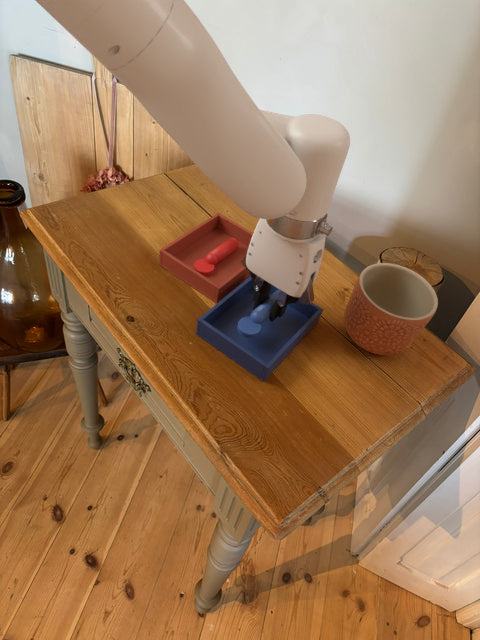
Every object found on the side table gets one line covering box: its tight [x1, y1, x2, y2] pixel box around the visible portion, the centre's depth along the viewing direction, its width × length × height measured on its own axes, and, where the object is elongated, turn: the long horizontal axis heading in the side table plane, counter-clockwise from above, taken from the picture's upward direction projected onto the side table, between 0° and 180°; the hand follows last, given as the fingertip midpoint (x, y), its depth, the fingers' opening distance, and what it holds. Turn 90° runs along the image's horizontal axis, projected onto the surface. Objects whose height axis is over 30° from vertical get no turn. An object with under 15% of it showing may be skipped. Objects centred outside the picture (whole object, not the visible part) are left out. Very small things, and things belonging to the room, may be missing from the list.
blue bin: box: [195, 276, 324, 382], centre depth 74 cm, size 13×16×4 cm
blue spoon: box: [237, 290, 280, 338], centre depth 72 cm, size 11×4×2 cm, turn 143°
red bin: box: [158, 212, 254, 304], centre depth 83 cm, size 13×16×4 cm
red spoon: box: [194, 238, 239, 276], centre depth 83 cm, size 11×4×2 cm, turn 143°
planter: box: [343, 262, 439, 356], centre depth 74 cm, size 12×12×11 cm
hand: (267, 310), depth 74 cm, fingers closed on blue spoon, 2 cm apart
